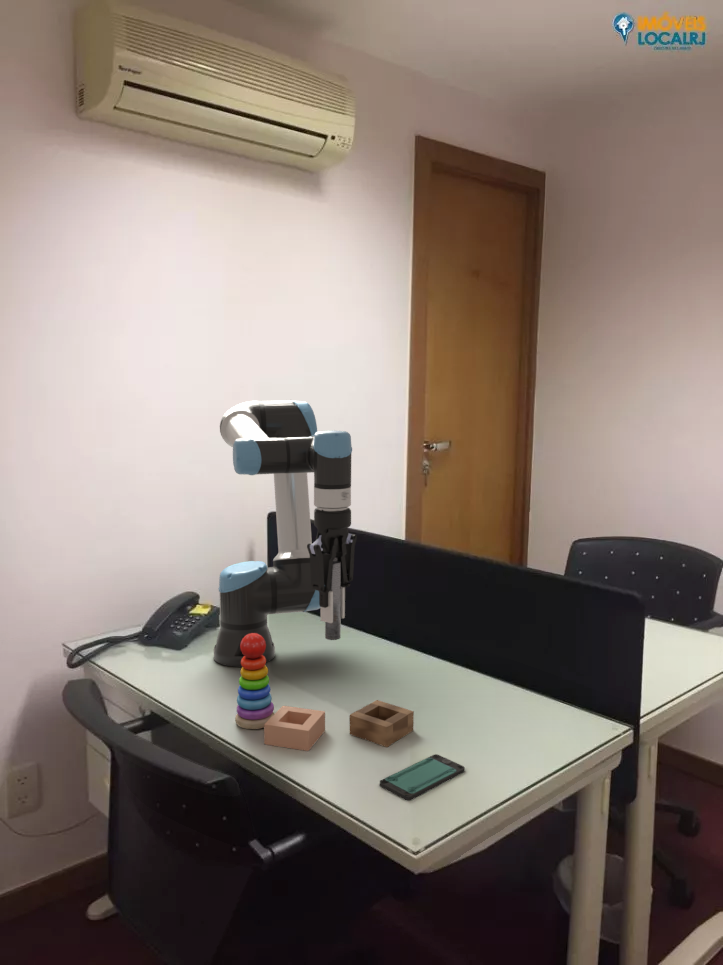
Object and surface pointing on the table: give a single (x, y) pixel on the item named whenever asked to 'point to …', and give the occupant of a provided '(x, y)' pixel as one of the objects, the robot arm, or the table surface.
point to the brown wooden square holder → (381, 723)
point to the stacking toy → (253, 685)
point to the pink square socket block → (294, 728)
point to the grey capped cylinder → (335, 603)
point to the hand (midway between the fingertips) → (332, 618)
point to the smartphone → (421, 777)
